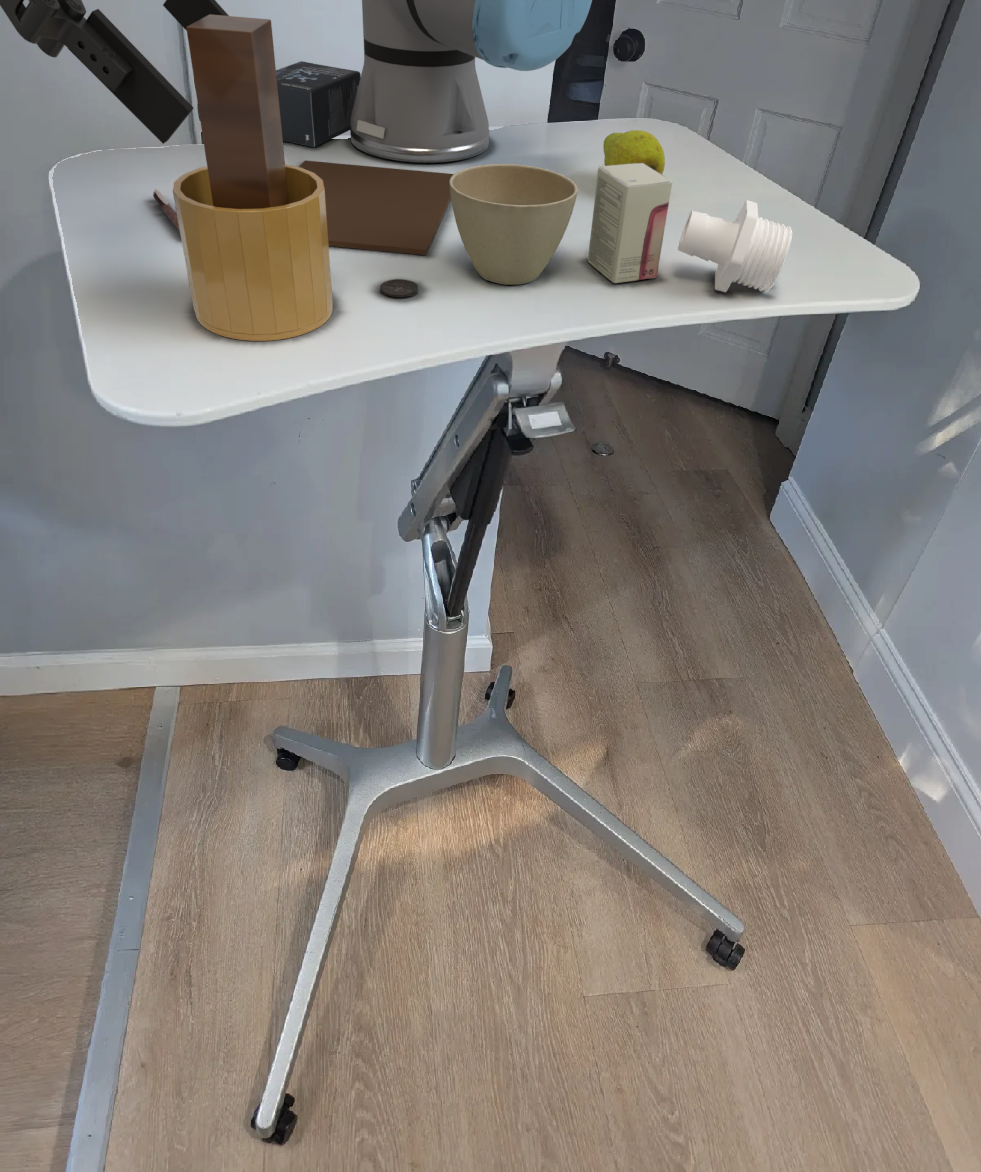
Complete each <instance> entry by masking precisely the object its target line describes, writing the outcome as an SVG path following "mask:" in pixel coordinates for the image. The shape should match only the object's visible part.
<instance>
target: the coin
mask: <svg viewBox="0 0 981 1172" xmlns="http://www.w3.org/2000/svg"><path fill="white" fill-rule="evenodd" d="M379 291H380V292H381V293H382V294H383V295H386V296H388V297H392V298H407V297H411V296H413V295H415V294H416V293H418V291H419V286H418V284H417V283H416V282H415V281H412V280H409V279H404V278H403V279H402V278H394V279H389V280H385V281H384V282H382V283H381V284H380V286H379Z"/></svg>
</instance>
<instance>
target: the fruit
mask: <svg viewBox="0 0 981 1172" xmlns="http://www.w3.org/2000/svg"><path fill="white" fill-rule="evenodd" d="M603 155H604V163H603V165H604V166H611V165H623V164H633V163H644V164H645V165H647V166H649V167H650V168H652V169H654V170H655V171H657V172H658V173H660V174H662V175H663V173H664V170H665V166H666V157H665V151H664V149H663V146H662V144H661V143H660V141H659V140H658V138H656V137H655V136H654V135H653V134H652V133H650V132H649V131H646V130H642V129H641V130H640V129H633V130H629V131H625V132H612V133H610V134H608V135H606V137H605V138H604V140H603Z"/></svg>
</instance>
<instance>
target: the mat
mask: <svg viewBox="0 0 981 1172" xmlns="http://www.w3.org/2000/svg"><path fill="white" fill-rule="evenodd" d="M298 167H300V168H303V169H306V170H308V171H311V172H313V173H315V174H316V175H317V176H319V177H320V178H321V179H322V180H323V183H324V188H325V202H326V216H327V231H328V245H329V247H334V248H335V247H337V248H346V249H347V248H348V249H357V250H368V251H379V252H386V253H387V252H388V253H389V252H390V253H397V254H398V253H399V254H408V255H409V254H410V255H419V256H427V255H428V252H429V250H430V248H431V245H432V243H433V242H434V241H433V240H434V238H435V236H436V235H437V232H438V229H439V227H440V225H441V222H442V220H443V218H444V215H445V213H446V211H447V209H448V206H449V204H450V202H451V193H450V178H451V177H452V176H453V175H454V174H455V173H447V172H435V171H425V170H416V169H415V170H414V169H403V168H394V167H391V168H390V167H383V166H382V167H381V166H372V165H360V164H349V163H339V162H328V161H316V160H304V161H303V162H302V163H301V164H300V165H299V166H298Z"/></svg>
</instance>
